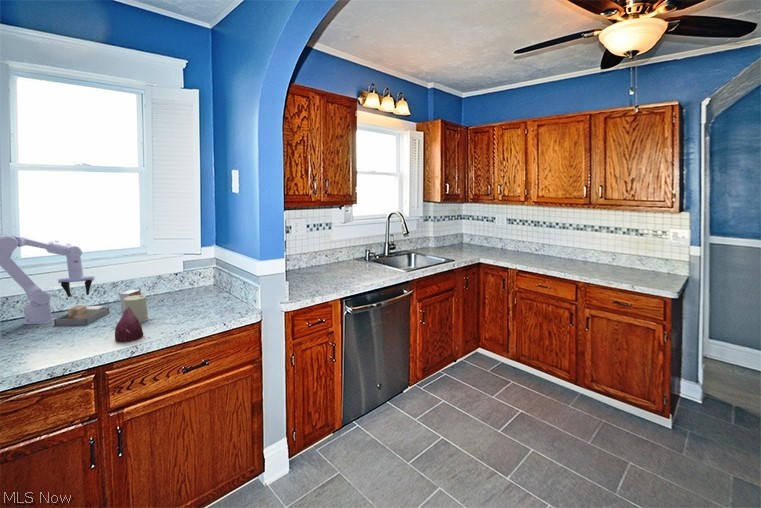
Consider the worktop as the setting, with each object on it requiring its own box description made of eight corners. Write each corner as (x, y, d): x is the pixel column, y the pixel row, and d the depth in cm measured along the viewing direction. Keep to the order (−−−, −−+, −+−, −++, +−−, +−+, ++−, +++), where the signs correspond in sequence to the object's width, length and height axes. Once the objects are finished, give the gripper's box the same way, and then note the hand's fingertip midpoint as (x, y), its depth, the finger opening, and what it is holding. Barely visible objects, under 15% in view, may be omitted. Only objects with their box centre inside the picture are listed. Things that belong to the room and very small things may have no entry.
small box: (130, 313, 203) (128, 293, 201) (121, 313, 204) (119, 293, 202) (142, 309, 211) (140, 289, 209) (133, 308, 212) (131, 289, 210)
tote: (55, 327, 184) (54, 319, 184) (80, 314, 202) (79, 307, 201) (87, 326, 185) (86, 319, 185) (109, 313, 203) (108, 307, 202)
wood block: (69, 323, 187) (67, 309, 186) (77, 319, 193) (76, 305, 191) (79, 323, 187) (77, 309, 186) (87, 319, 193) (85, 305, 192)
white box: (76, 317, 196) (75, 309, 195) (82, 314, 201) (81, 306, 200) (98, 316, 197) (97, 308, 196) (104, 313, 201) (103, 306, 201)
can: (151, 320, 194) (148, 296, 192) (129, 325, 187) (126, 300, 185) (144, 315, 200) (142, 292, 198) (123, 320, 194) (121, 296, 191)
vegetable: (124, 341, 176) (121, 307, 177) (148, 337, 177) (144, 304, 178) (109, 344, 166) (106, 309, 167) (135, 341, 167) (131, 305, 168)
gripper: (54, 272, 193) (58, 299, 195) (90, 269, 199) (94, 295, 201) (59, 269, 199) (62, 295, 202) (93, 267, 205) (97, 292, 208)
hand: (78, 295), depth 202 cm, fingers open, 7 cm apart
